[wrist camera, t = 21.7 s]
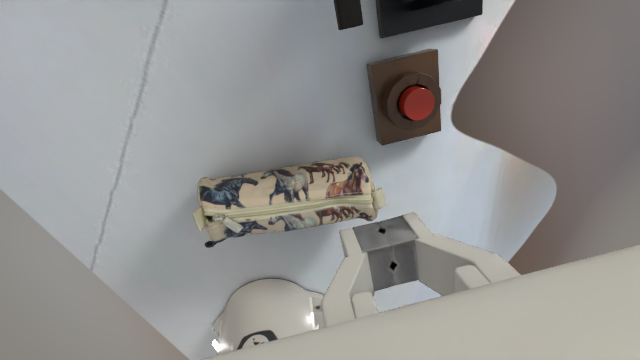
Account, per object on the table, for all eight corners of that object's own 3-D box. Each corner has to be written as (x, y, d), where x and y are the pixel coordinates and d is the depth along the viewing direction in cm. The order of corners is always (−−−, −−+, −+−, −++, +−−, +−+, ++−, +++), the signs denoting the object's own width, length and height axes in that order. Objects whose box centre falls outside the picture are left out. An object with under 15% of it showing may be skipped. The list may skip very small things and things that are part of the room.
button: (428, 113, 37) (435, 116, 35) (400, 120, 37) (405, 123, 35) (427, 83, 35) (434, 84, 34) (397, 90, 35) (402, 92, 34)
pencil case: (216, 220, 43) (200, 266, 34) (201, 165, 40) (179, 200, 31) (366, 199, 45) (389, 237, 36) (365, 144, 41) (389, 171, 33)
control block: (433, 126, 42) (448, 134, 38) (376, 140, 41) (386, 150, 38) (429, 48, 37) (445, 49, 34) (366, 63, 37) (376, 66, 34)
